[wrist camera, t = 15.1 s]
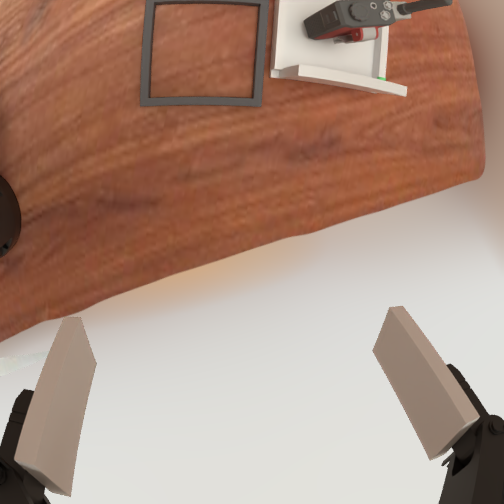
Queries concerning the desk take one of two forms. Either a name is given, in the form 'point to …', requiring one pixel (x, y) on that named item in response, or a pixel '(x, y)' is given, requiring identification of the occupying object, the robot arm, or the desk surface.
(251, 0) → the grey square frame
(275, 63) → the dock
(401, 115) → the desk surface
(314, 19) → the walkie-talkie
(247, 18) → the desk surface
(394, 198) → the desk surface
